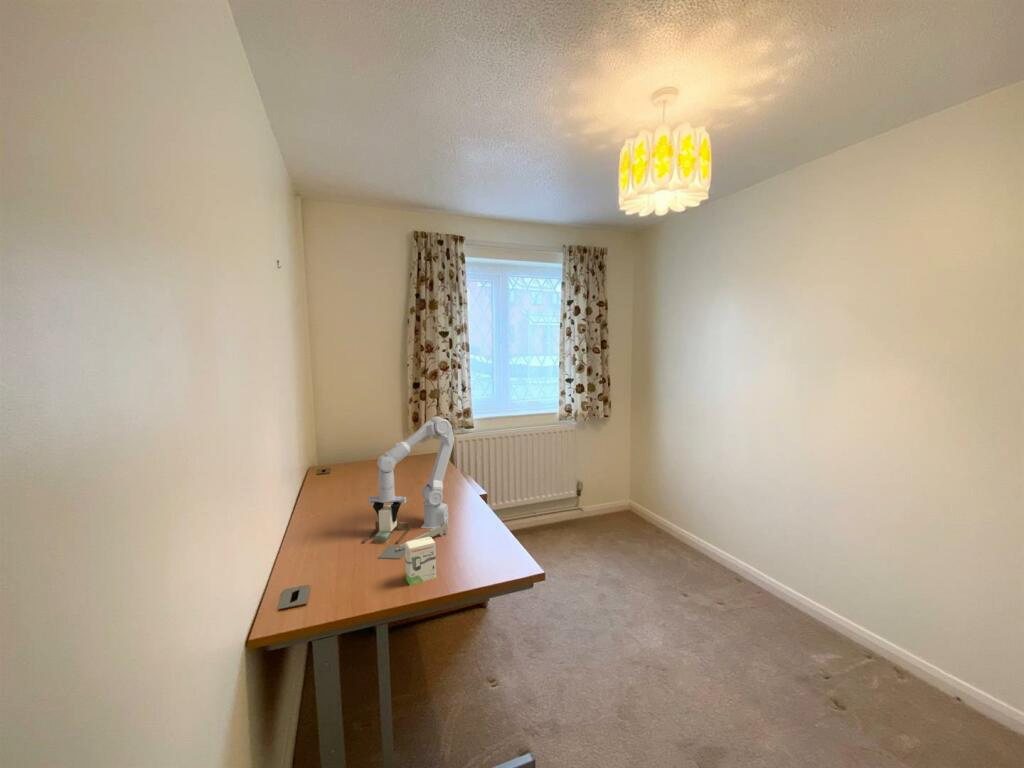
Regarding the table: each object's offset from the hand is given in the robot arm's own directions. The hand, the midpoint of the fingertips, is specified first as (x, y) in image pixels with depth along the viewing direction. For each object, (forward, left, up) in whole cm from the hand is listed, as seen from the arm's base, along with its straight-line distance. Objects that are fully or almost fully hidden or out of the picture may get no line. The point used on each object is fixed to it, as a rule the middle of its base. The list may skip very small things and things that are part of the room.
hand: (388, 521), depth 156 cm
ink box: (-23, +28, -6) cm, 37 cm away
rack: (0, +1, -6) cm, 6 cm away
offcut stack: (0, +6, -6) cm, 8 cm away
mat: (-8, +13, -6) cm, 17 cm away
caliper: (-15, +6, -7) cm, 18 cm away
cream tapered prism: (0, 0, -3) cm, 3 cm away
